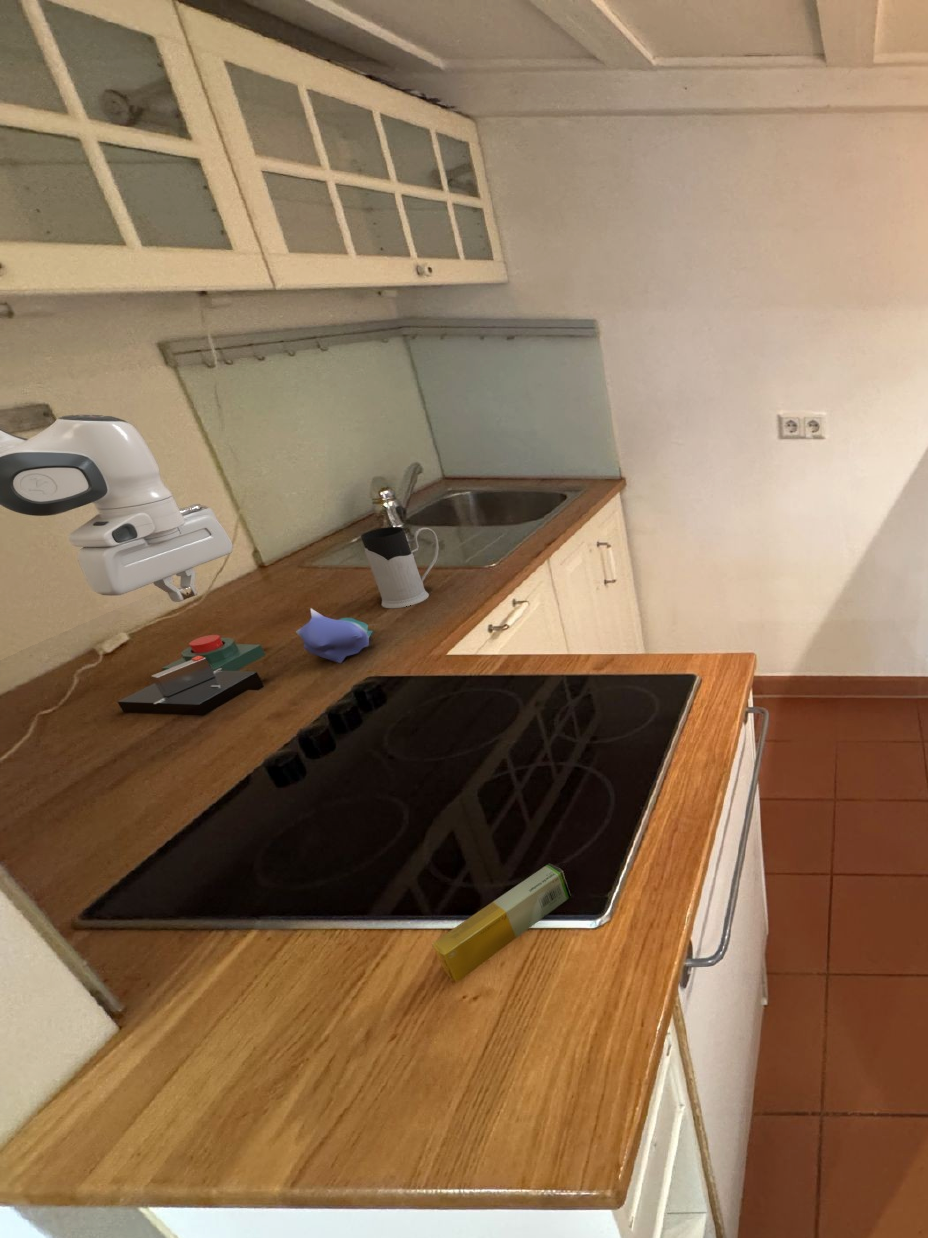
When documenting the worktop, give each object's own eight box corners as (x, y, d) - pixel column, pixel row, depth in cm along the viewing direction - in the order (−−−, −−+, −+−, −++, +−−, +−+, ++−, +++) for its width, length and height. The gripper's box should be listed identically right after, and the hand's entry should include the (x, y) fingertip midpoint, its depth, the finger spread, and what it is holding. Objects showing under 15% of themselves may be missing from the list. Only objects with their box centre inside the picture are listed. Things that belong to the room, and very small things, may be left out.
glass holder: (373, 602, 143) (348, 535, 136) (440, 580, 153) (420, 517, 147) (394, 611, 138) (369, 542, 132) (461, 588, 149) (441, 522, 142)
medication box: (560, 891, 71) (550, 860, 69) (575, 900, 69) (565, 869, 68) (443, 975, 62) (429, 942, 61) (457, 988, 60) (443, 954, 59)
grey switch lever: (167, 696, 104) (156, 675, 102) (161, 695, 104) (149, 674, 103) (215, 676, 109) (205, 656, 108) (209, 675, 110) (199, 654, 108)
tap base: (124, 719, 104) (113, 702, 103) (191, 683, 114) (183, 667, 112) (204, 722, 103) (195, 704, 101) (266, 685, 112) (258, 669, 111)
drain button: (187, 654, 116) (182, 645, 115) (209, 643, 119) (205, 634, 119) (208, 654, 115) (203, 645, 115) (229, 643, 119) (225, 634, 118)
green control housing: (167, 679, 115) (156, 658, 114) (216, 654, 124) (207, 634, 122) (219, 680, 114) (208, 660, 113) (265, 655, 122) (256, 635, 121)
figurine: (338, 676, 126) (345, 631, 128) (393, 667, 124) (398, 621, 126) (268, 660, 114) (277, 610, 116) (327, 649, 112) (335, 599, 114)
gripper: (190, 500, 117) (226, 574, 123) (54, 540, 99) (103, 624, 105) (223, 500, 116) (257, 575, 122) (91, 540, 98) (139, 625, 104)
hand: (185, 598), depth 113 cm, fingers closed
